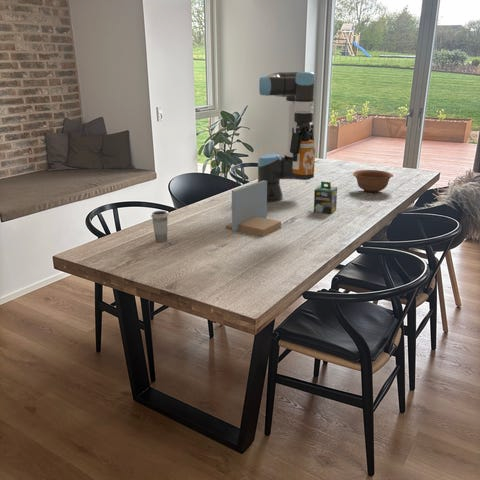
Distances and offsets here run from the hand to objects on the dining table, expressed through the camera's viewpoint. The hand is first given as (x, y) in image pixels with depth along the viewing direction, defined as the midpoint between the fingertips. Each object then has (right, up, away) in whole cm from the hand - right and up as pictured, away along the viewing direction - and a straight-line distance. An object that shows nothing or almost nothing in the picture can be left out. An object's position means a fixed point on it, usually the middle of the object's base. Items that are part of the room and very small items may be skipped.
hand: (301, 167), depth 206 cm
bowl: (+48, -4, +70) cm, 86 cm away
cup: (-58, -31, -5) cm, 66 cm away
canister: (0, -4, +2) cm, 5 cm away
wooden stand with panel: (-18, -25, +13) cm, 33 cm away
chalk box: (+16, -17, +36) cm, 42 cm away
